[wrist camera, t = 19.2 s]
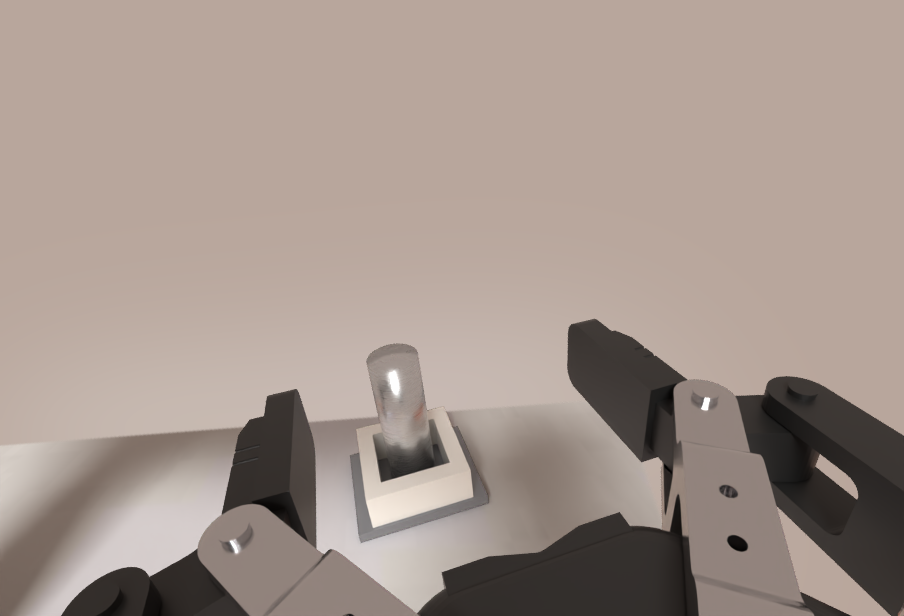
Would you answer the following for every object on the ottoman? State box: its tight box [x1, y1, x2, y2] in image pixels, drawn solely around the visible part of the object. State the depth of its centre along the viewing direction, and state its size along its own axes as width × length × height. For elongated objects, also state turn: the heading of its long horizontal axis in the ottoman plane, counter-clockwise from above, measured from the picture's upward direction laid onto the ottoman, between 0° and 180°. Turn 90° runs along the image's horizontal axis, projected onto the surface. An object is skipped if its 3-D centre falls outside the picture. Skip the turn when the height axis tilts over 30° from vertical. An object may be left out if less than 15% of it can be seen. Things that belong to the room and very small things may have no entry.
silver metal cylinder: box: [367, 344, 436, 479], centre depth 42 cm, size 4×4×14 cm
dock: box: [350, 407, 488, 543], centre depth 44 cm, size 12×10×4 cm
